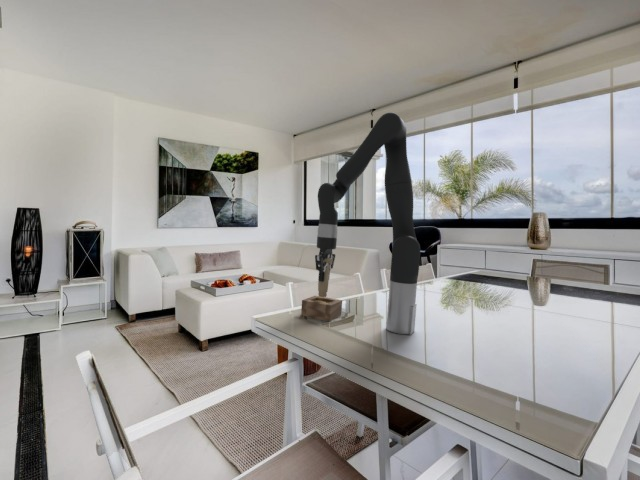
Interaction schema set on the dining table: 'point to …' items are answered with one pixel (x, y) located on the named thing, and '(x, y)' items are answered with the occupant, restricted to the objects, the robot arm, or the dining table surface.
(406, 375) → the dining table surface
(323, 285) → the handle
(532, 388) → the dining table surface
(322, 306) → the brown wooden open box
